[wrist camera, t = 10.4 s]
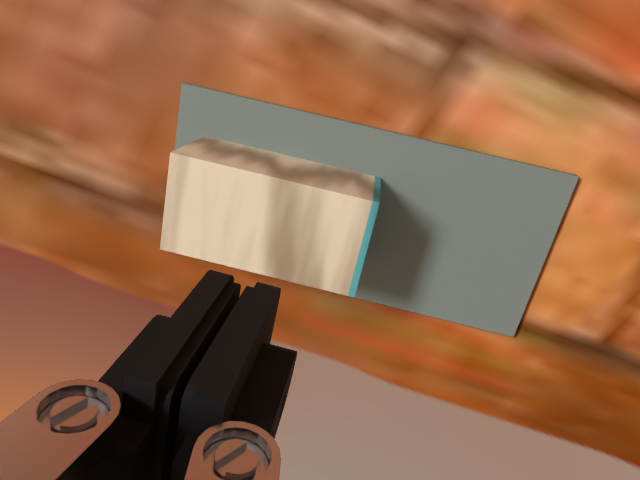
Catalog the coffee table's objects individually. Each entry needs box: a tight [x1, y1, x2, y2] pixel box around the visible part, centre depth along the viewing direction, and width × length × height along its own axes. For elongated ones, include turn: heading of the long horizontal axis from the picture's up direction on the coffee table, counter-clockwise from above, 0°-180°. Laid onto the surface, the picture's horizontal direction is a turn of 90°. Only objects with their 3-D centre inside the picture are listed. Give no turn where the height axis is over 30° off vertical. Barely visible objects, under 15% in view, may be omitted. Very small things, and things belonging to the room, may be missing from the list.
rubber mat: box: [175, 83, 579, 337], centre depth 35 cm, size 26×12×1 cm, turn 78°
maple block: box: [160, 136, 381, 297], centre depth 32 cm, size 6×6×12 cm
